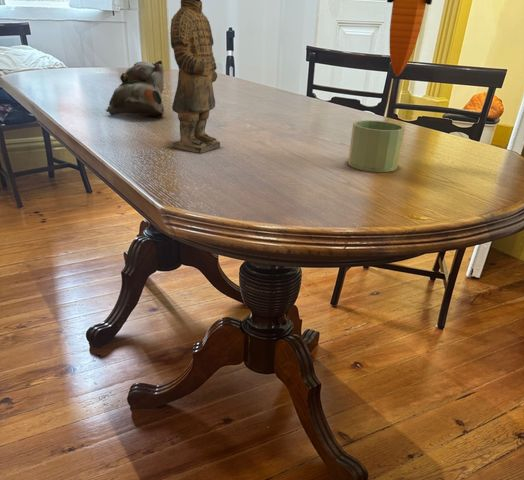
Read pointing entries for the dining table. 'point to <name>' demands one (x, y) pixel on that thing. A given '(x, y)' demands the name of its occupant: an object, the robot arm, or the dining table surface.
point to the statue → (193, 76)
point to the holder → (375, 145)
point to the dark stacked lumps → (139, 91)
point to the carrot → (404, 31)
